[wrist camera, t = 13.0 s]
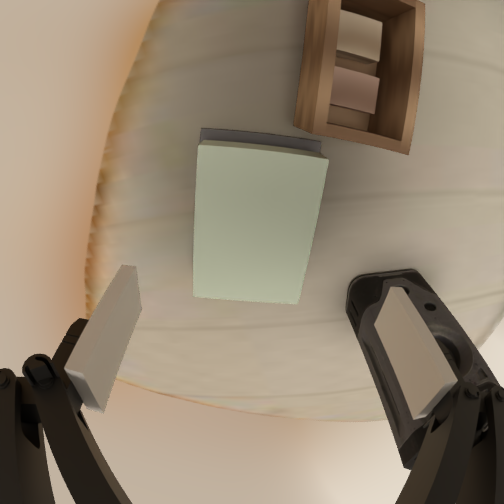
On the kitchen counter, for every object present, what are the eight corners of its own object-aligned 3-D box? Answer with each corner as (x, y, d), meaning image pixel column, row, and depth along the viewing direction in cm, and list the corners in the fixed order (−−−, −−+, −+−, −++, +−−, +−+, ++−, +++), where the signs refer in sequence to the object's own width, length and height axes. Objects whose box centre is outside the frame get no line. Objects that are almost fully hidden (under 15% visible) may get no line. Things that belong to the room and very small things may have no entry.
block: (206, 137, 23) (198, 144, 19) (314, 149, 23) (328, 159, 19) (199, 268, 28) (193, 296, 24) (290, 276, 29) (297, 304, 25)
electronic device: (421, 266, 30) (519, 401, 12) (410, 307, 33) (484, 438, 15) (349, 275, 30) (428, 447, 12) (343, 317, 33) (398, 475, 15)
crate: (308, -1, 17) (331, -32, 11) (384, 21, 18) (425, 3, 11) (293, 125, 23) (312, 133, 16) (369, 140, 23) (408, 155, 17)
